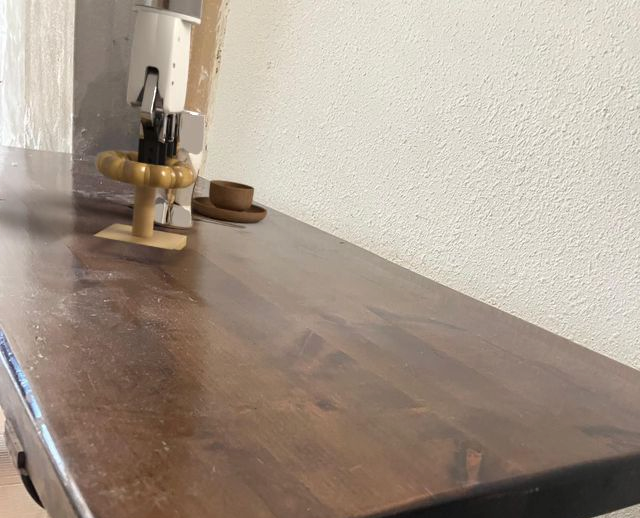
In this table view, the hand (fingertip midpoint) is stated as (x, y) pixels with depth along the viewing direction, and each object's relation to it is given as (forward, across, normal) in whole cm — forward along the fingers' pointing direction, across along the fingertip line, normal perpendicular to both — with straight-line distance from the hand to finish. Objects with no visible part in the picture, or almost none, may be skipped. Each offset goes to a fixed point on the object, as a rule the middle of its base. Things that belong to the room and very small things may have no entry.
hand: (154, 173), depth 90 cm
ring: (-1, +4, 0) cm, 4 cm away
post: (+8, +4, 0) cm, 9 cm away
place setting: (+8, -27, +2) cm, 29 cm away
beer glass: (+8, -12, 0) cm, 15 cm away
